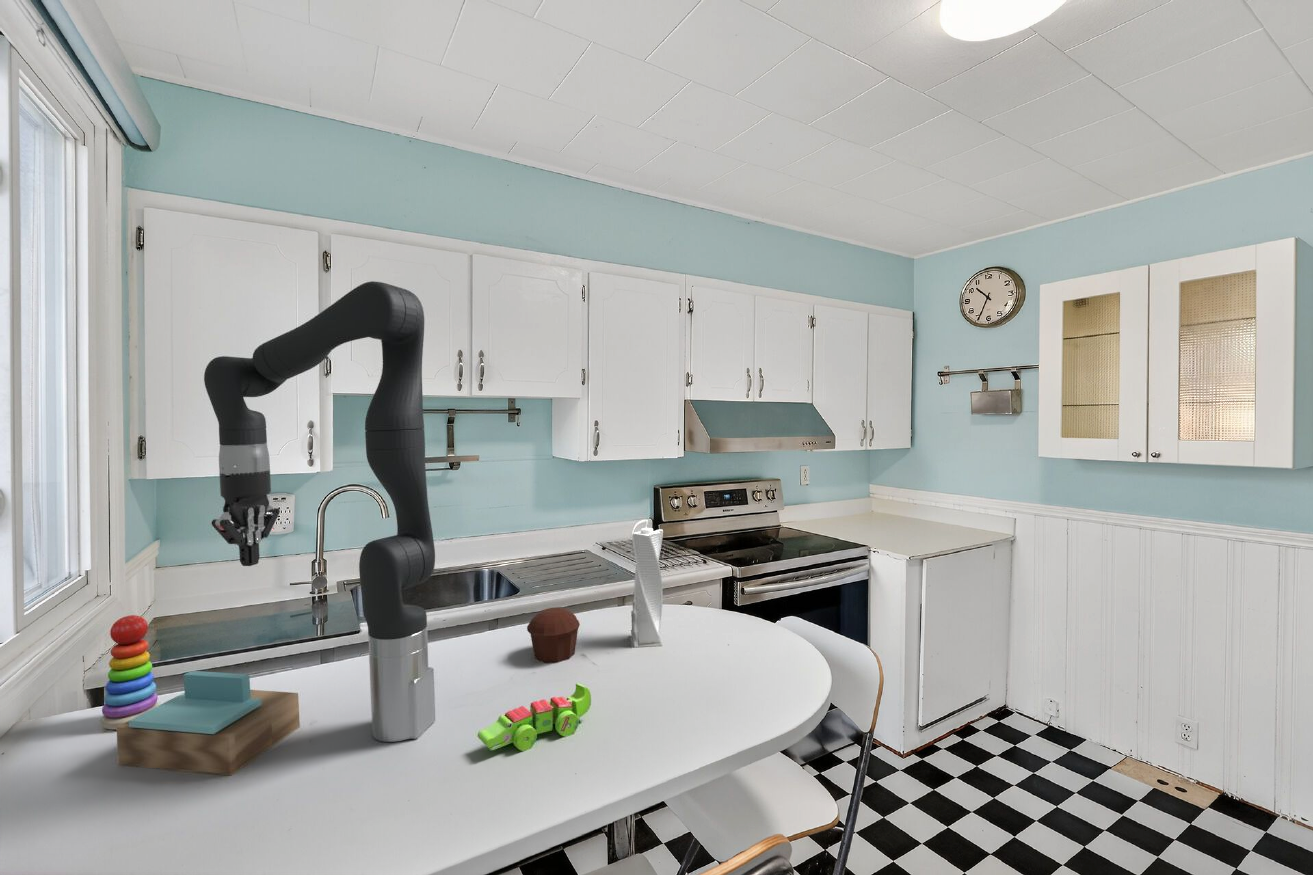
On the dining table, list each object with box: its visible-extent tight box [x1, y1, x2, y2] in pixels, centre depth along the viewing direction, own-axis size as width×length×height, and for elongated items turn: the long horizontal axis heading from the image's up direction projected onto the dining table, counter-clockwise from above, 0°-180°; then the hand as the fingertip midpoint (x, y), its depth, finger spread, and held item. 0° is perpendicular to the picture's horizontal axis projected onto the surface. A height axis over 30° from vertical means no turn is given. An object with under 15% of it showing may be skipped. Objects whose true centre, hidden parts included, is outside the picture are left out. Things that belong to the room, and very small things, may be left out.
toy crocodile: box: [477, 682, 592, 752], centre depth 101 cm, size 20×7×6 cm, turn 124°
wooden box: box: [115, 689, 301, 777], centre depth 100 cm, size 20×14×6 cm
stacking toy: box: [100, 614, 160, 730], centre depth 108 cm, size 8×8×19 cm
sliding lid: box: [129, 670, 262, 734], centre depth 97 cm, size 15×9×5 cm, turn 81°
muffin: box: [526, 606, 581, 664], centre depth 134 cm, size 12×11×10 cm
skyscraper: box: [629, 519, 664, 649], centre depth 141 cm, size 8×8×28 cm
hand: (249, 564), depth 109 cm, fingers closed
